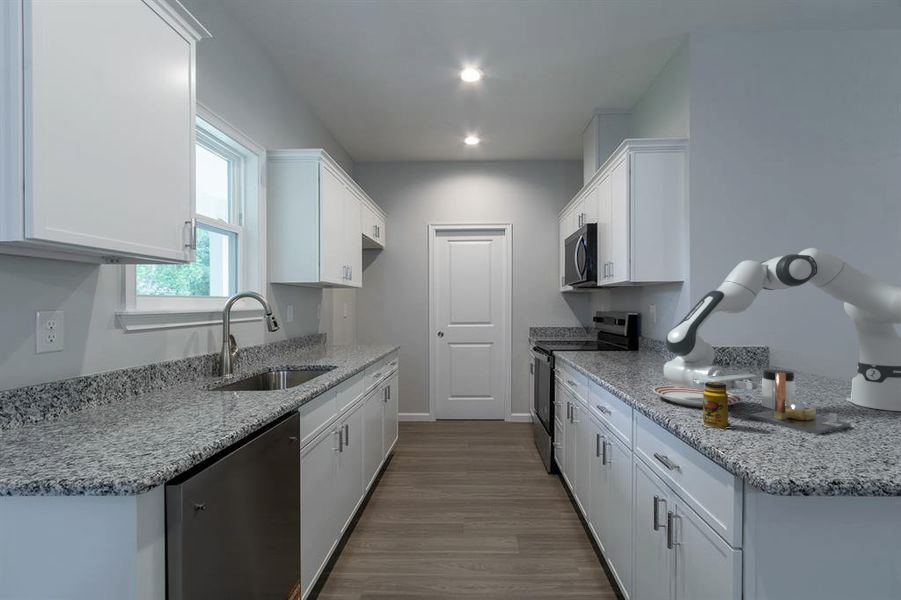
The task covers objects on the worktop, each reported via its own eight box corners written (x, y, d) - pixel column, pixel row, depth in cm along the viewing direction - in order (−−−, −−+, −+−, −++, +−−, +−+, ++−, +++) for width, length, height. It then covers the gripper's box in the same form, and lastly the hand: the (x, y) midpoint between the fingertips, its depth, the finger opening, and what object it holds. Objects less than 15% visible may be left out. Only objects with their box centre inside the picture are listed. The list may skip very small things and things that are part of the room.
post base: (779, 412, 142) (780, 396, 142) (850, 427, 126) (851, 409, 126) (747, 418, 135) (747, 401, 135) (818, 435, 118) (818, 416, 118)
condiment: (701, 426, 126) (702, 384, 126) (700, 419, 134) (700, 379, 133) (732, 430, 123) (732, 386, 123) (729, 422, 130) (729, 381, 130)
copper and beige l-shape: (790, 411, 137) (790, 368, 137) (818, 417, 130) (818, 372, 130) (763, 416, 131) (763, 371, 131) (792, 423, 124) (792, 375, 124)
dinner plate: (727, 396, 166) (727, 387, 166) (755, 414, 140) (755, 404, 140) (647, 391, 174) (647, 383, 174) (659, 408, 148) (659, 398, 148)
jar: (787, 412, 142) (787, 374, 142) (758, 406, 149) (758, 370, 149) (798, 408, 147) (798, 371, 147) (770, 403, 154) (770, 368, 154)
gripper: (689, 371, 142) (733, 378, 130) (730, 367, 151) (774, 373, 139) (689, 391, 142) (733, 400, 130) (730, 385, 151) (774, 393, 139)
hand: (754, 386), depth 134 cm, fingers closed
